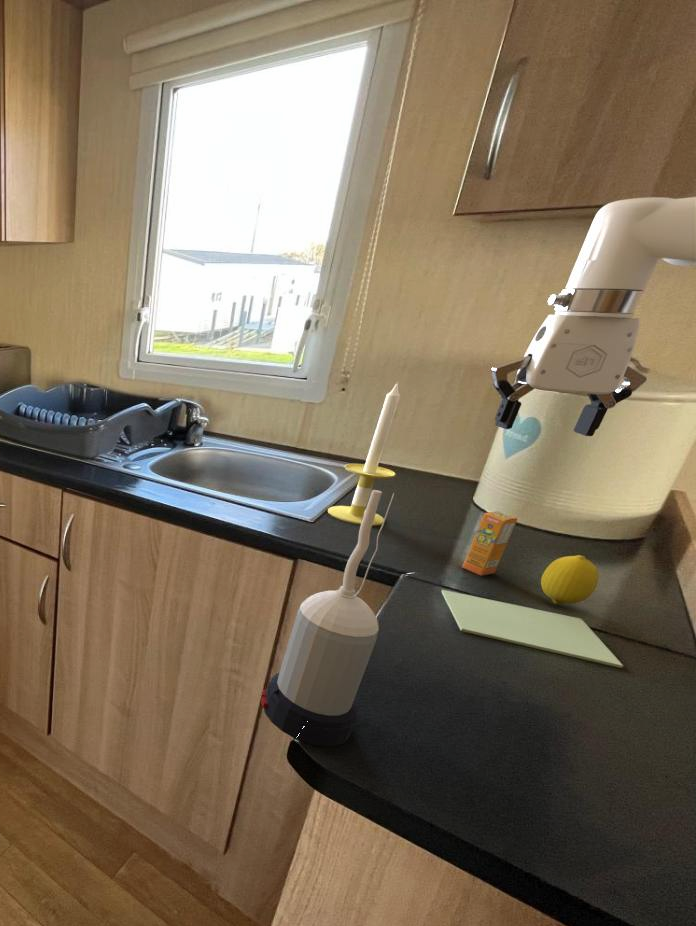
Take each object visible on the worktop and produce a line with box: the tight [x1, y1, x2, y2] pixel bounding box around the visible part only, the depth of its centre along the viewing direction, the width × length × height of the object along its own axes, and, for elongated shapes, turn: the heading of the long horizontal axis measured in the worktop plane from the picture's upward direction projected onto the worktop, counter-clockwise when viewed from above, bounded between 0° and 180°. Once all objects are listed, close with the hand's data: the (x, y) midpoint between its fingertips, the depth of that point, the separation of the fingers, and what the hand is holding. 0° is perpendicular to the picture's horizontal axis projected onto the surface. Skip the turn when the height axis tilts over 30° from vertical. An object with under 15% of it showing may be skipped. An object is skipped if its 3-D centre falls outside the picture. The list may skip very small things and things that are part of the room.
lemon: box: [540, 554, 599, 606], centre depth 79 cm, size 6×6×8 cm
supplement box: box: [461, 510, 518, 577], centre depth 88 cm, size 3×3×10 cm
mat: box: [440, 589, 624, 669], centre depth 75 cm, size 16×12×1 cm
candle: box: [327, 380, 401, 527], centre depth 106 cm, size 10×10×27 cm
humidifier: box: [260, 489, 395, 748], centre depth 52 cm, size 8×8×25 cm
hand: (541, 430), depth 80 cm, fingers open, 9 cm apart
